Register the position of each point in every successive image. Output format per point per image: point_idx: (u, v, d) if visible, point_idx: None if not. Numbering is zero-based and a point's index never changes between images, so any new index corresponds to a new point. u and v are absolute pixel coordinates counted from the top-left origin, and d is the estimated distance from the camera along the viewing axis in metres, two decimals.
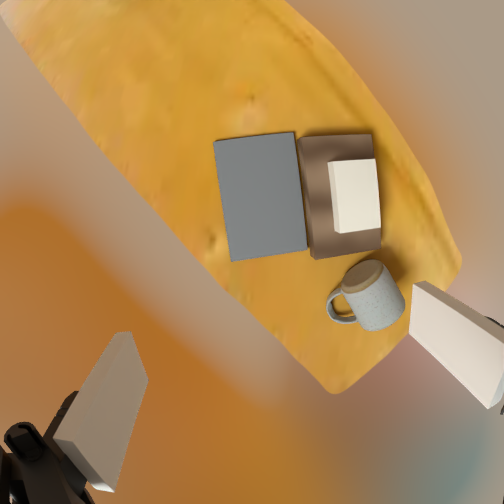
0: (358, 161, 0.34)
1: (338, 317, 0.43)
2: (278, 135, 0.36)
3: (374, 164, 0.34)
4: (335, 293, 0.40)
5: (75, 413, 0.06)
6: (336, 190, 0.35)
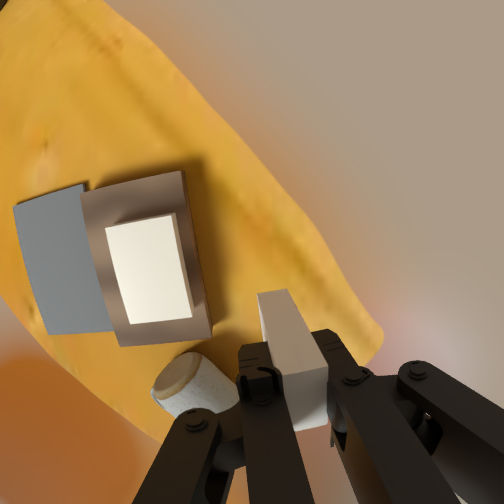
0: (142, 223, 0.23)
1: None
2: (67, 190, 0.25)
3: (170, 224, 0.23)
4: None
5: (283, 352, 0.09)
6: (114, 268, 0.23)
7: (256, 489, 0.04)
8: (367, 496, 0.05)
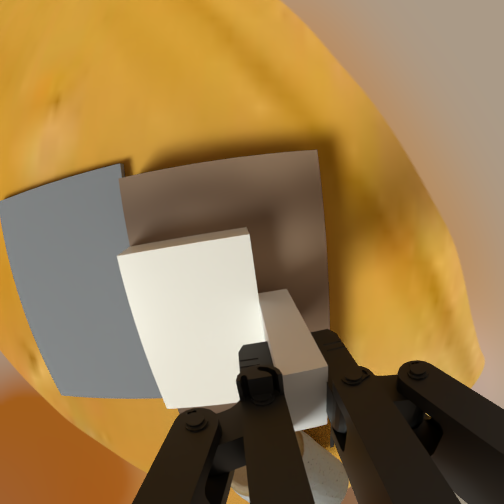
0: (192, 248, 0.12)
1: None
2: (90, 174, 0.15)
3: (247, 251, 0.13)
4: None
5: (283, 352, 0.09)
6: (137, 327, 0.13)
7: (256, 489, 0.04)
8: (367, 496, 0.05)
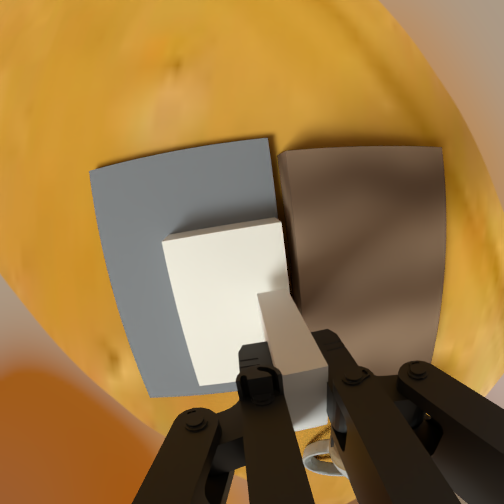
0: (231, 234, 0.14)
1: (322, 465, 0.22)
2: (232, 145, 0.15)
3: (279, 236, 0.15)
4: (318, 451, 0.20)
5: (283, 352, 0.09)
6: (177, 307, 0.15)
7: (256, 489, 0.04)
8: (367, 496, 0.05)
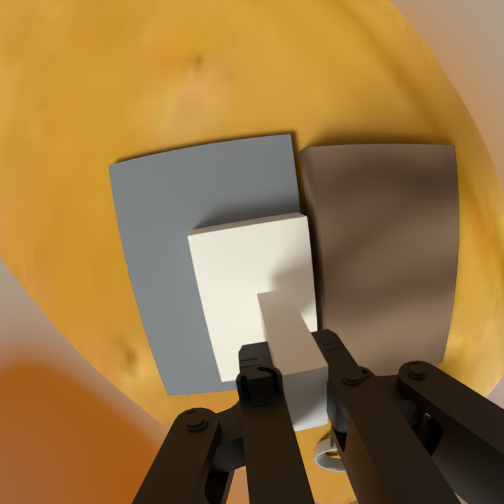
0: (258, 228, 0.14)
1: (333, 462, 0.22)
2: (255, 141, 0.15)
3: (304, 230, 0.15)
4: (330, 447, 0.20)
5: (283, 352, 0.09)
6: None
7: (256, 489, 0.04)
8: (367, 496, 0.05)
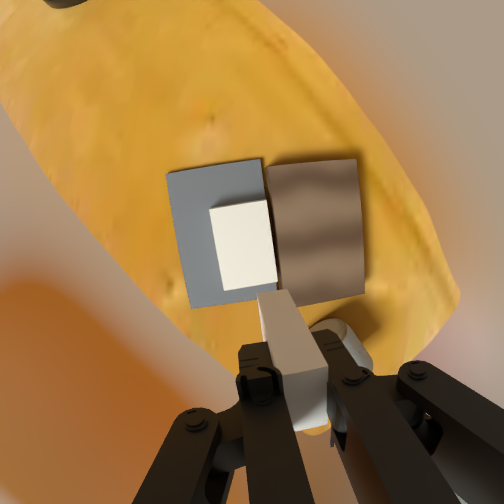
0: (242, 205, 0.30)
1: None
2: (242, 163, 0.31)
3: (265, 207, 0.30)
4: None
5: (283, 352, 0.09)
6: (215, 243, 0.31)
7: (256, 489, 0.04)
8: (367, 496, 0.05)
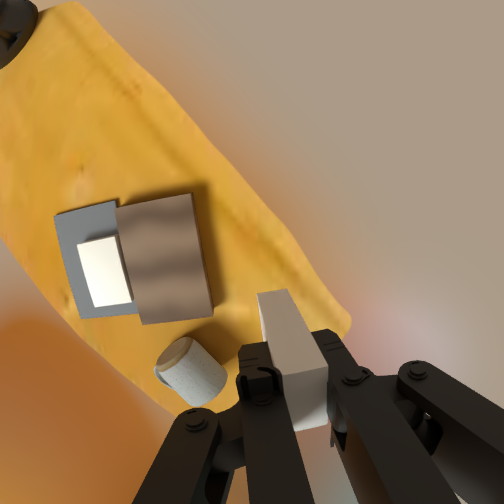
0: (98, 241, 0.34)
1: None
2: (102, 205, 0.35)
3: (114, 242, 0.34)
4: None
5: (283, 352, 0.09)
6: (83, 270, 0.35)
7: (256, 489, 0.04)
8: (367, 496, 0.05)
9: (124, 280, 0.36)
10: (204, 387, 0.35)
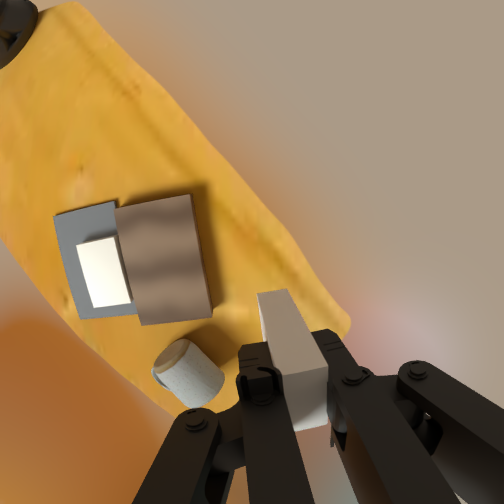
0: (97, 242, 0.34)
1: None
2: (101, 205, 0.35)
3: (113, 242, 0.34)
4: None
5: (283, 352, 0.09)
6: None
7: (256, 489, 0.04)
8: (367, 496, 0.05)
9: (123, 281, 0.36)
10: (201, 389, 0.35)
